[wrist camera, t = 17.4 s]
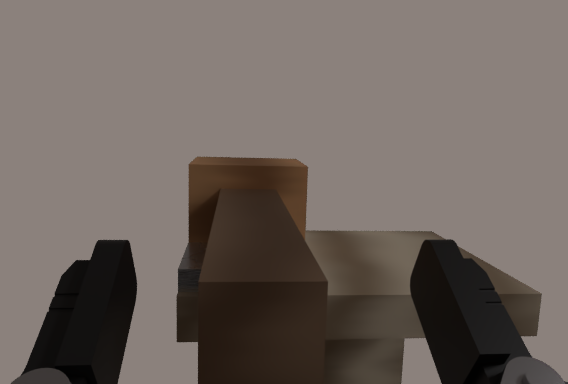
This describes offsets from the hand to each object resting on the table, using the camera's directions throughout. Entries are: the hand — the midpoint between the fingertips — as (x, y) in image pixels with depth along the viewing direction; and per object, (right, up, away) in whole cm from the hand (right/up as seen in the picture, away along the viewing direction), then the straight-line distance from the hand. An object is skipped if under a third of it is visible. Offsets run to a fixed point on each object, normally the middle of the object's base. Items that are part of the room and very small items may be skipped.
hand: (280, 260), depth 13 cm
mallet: (-1, -1, +6) cm, 7 cm away
